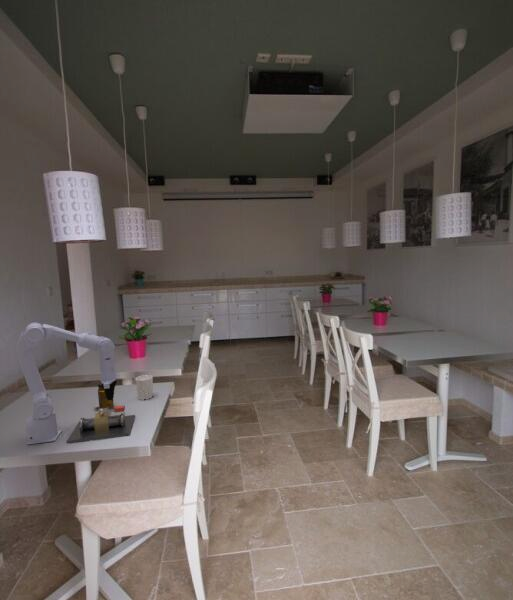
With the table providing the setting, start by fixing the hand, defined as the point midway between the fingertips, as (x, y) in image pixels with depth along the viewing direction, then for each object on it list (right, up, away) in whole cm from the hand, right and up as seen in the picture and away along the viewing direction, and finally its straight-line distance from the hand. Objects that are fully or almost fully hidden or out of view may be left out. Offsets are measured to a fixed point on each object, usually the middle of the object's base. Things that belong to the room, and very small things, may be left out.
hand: (110, 399), depth 144 cm
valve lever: (+3, -3, -6) cm, 8 cm away
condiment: (-8, -8, +14) cm, 18 cm away
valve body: (0, -10, -6) cm, 12 cm away
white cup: (+7, -6, +25) cm, 26 cm away
